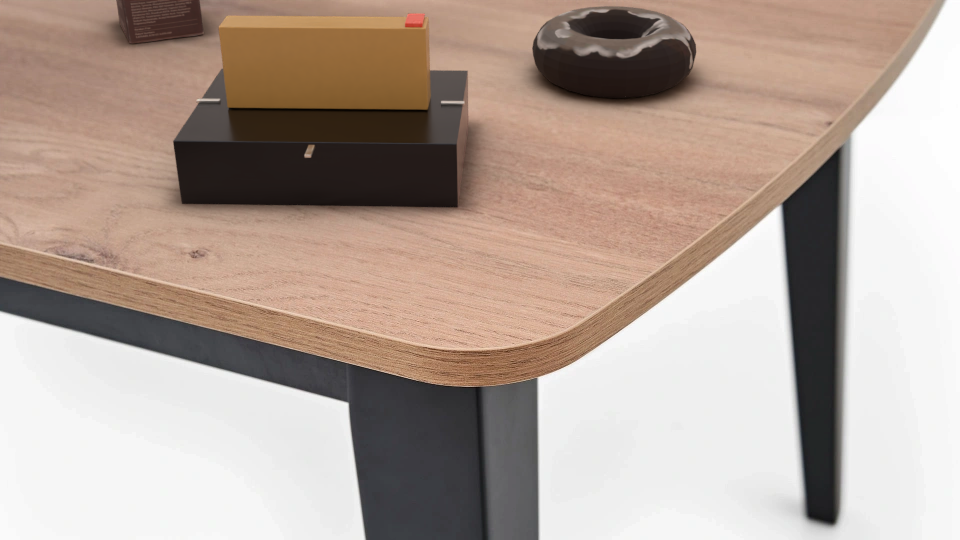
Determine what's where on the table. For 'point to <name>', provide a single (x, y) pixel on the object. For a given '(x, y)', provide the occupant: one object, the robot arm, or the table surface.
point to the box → (159, 19)
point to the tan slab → (326, 62)
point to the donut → (614, 51)
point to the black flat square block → (326, 152)
